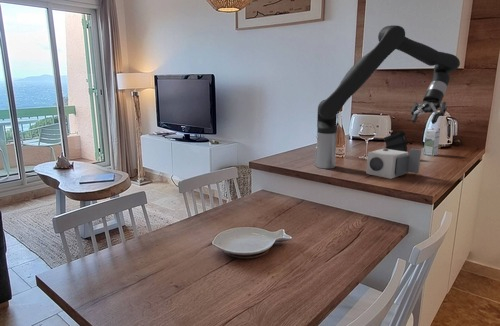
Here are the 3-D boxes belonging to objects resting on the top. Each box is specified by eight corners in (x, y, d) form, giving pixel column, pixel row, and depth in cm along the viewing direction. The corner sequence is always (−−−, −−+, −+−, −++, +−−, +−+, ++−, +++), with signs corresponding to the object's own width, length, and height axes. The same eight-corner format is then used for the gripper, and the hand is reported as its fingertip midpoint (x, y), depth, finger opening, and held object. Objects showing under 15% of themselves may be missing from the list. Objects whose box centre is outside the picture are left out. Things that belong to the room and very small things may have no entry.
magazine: (409, 158, 184) (400, 131, 186) (388, 164, 194) (380, 139, 197) (413, 157, 186) (404, 130, 188) (392, 163, 197) (384, 138, 199)
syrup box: (437, 155, 199) (440, 129, 195) (432, 156, 195) (435, 130, 192) (427, 153, 203) (430, 128, 200) (422, 154, 200) (425, 129, 196)
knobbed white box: (364, 174, 159) (366, 150, 156) (382, 168, 168) (383, 146, 166) (389, 179, 149) (391, 154, 147) (406, 173, 159) (408, 150, 157)
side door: (395, 175, 152) (397, 151, 149) (406, 171, 158) (408, 148, 155) (407, 178, 148) (410, 152, 145) (418, 174, 154) (421, 149, 151)
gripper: (416, 88, 161) (404, 117, 157) (449, 87, 150) (436, 117, 146) (422, 98, 166) (410, 126, 162) (454, 98, 154) (442, 128, 150)
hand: (422, 122), depth 154 cm, fingers open, 8 cm apart
